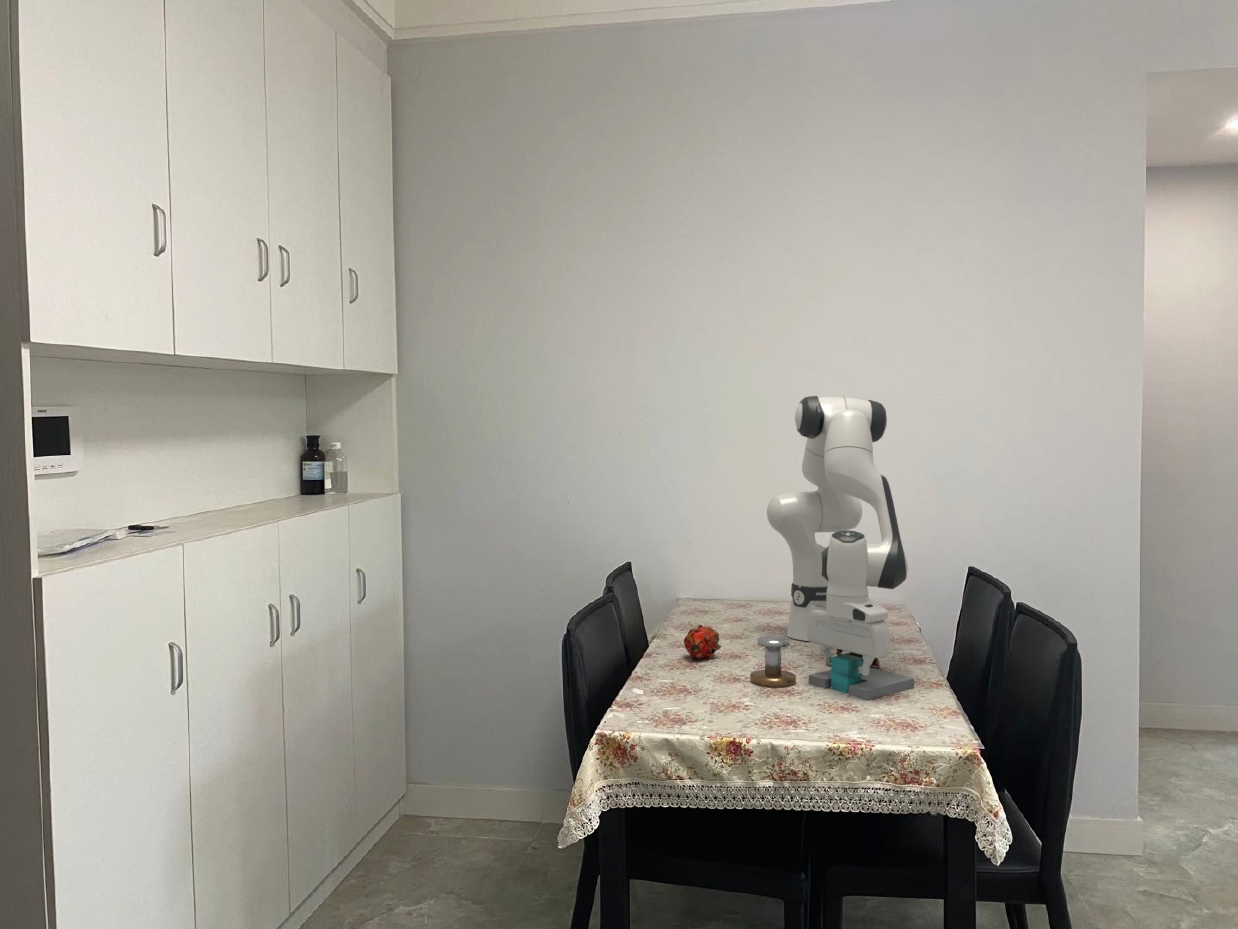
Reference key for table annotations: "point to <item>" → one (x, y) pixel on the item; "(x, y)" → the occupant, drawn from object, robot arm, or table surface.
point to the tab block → (844, 672)
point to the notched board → (868, 683)
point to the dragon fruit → (702, 642)
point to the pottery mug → (874, 663)
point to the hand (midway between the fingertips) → (846, 670)
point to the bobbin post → (773, 665)
